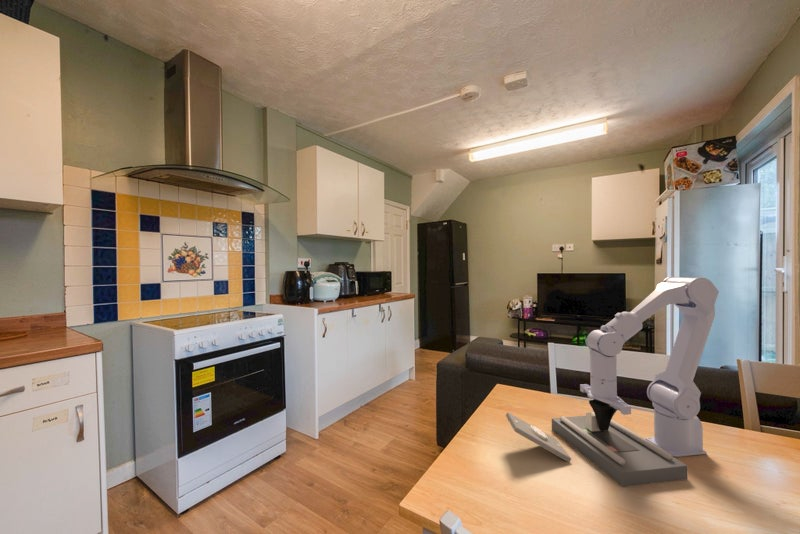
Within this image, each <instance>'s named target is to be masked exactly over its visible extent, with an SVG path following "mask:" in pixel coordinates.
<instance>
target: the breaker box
mask: <svg viewBox="0 0 800 534" xmlns="http://www.w3.org/2000/svg"><path fill="white" fill-rule="evenodd" d="M564 417H565V418H566V419H568V420H569V421H571V422H572V423H573V424H575V425H576V426H578V427H579V428H581V429H582V430H583V431H585V432H586V433H588V434H589V435H590V436H592V437H593V438H595V439H596V440H597V441H599V442H600V443H602V444H603V445H604V446H606V447H607V448H609V449H610V450H611V451H613V452H614V453H616V454H617V455H619V456H620V457H621V458H623V459H624V460H625V461H626V464H625V465H624V466H622V465H620V464H619V463H617V462H616V461H615V460H613V459H612V458H611V457H609V456H608V455H607V454H605V453H604V452H603V451H601V450H600V449H599V448H597V447H596V446H594V445H593V444H592V443H590V442H589V441H588V440H586V439H585V438H584V437H582V436H581V435H580V434H578V433H577V432H576V431H574V430H573V429H572V428H570V427H569V426H567V425H566V424H565V423H563V422H562V421H561V420H560V417H553V418H551V430H553V431H554V433H557V434H558V435H559V436H560V437H561V438H562V439H563V440H565V441H566V442H567V443H569V445H571V447H573V448H575V449H576V450H577V451H578V452H580V453H581V454H582V455H583V456H585V458H587V459H588V460H589V461H591V462H592V463H593V464H594V465H596V467H597V468H599V469H600V470H601V471H602V472H604V473H605V474H606V475H608V476H609V477H610V478H611V479H613V480H614V481H615V483H617V484H618V485H620V487H622V488H624V487H631V486H632V487H633V486H641V485H650V484H658V483H659V484H660V483H667V482H676V481H677V482H678V481H683V480H684V481H685V480H688V478H689V476H688V465H687V464H685V463H684V462H682V461H681V460H678V459H677V457H674V456H673V459H672V460H671V461H669V460H667V459H666V458H664V457H662V456H661V455H659V454H658V453H656V452H654V451H653V450H651V449H649V448H648V447H646V446H644V445H643V444H641V443H640V442H638V441H636V440H635V439H633V438H631V437H630V436H628V435H627V434H625V433H623V432H622V431H620V430H618V429H617V428H615V427H613V426H612V425H609V430H605V431H593V432H591V431H590V430H589V429H587V428H586V415H581V416H580V415H578V416H577V415H576V416H567V417H566V416H564Z"/></svg>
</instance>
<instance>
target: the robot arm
mask: <svg viewBox="0 0 800 534" xmlns="http://www.w3.org/2000/svg"><path fill="white" fill-rule="evenodd" d="M718 295H719V290H718V288H717V286H715V284H714V283H713V282H712V281H711V280H710V279H708V278H706V277H700V276H699V277H682V276H681V277H680V276H668V277H665V278H664V279H663V280H662V282H660V283H658V284H656V286H655V289H654V290H653V291H652V292H651V293H650V294H648V295H647V296H646V297H645V298H644V299H643V300H642V301H641V302H640V303H638V305H636V306H635V307H634V308H633V309H632V310H631V311H622V312H617V313H616V314H614V318H613V319H611V320H610V321H609V322H607V323H606V324H605V325H604V324H602V325H601V326H600V329H594V330H592V331H590V333H589V334H588V335H587V338H586V339H584V341H585V345H586V346H587V348H588V350H589V358H590V360H589V361H590V362H589V363H590V364H589V365H590V367H589V368H590V369H589V370H590V373H589V374H590V385H589V384H587V383H584V384H582V383H581V384H579V391H580V392H581V393H586V394H587V397H588V398H590V400H588V404H589V405H590V407H591V408H592V411H593V412H594V413H595V416H596V419H597V423H598V427H599V430H601V431H604V430H608V429H609V425H610V422H611V419H612V420H613V417H614V415H615V414H616V412H620V414H622V415H623V416H625V415H631V414H632V406H631V405H629V403H626V402H625V401H624V400H623V399H622V398H621V397H620V396H618V392H617V391H618V388H617V387H618V386H617V385H618V383H617V381H618V380H617V376H618V375H617V371H618V370H617V355H619V354H621V352H622V350H623V345H625V344H626V343H625V342H627V341H629V340H630V339H631V338H632V337H634V336H635V335H636V334H637V333H638V332H640V331H641V330H642V329H643V322H645V321H646V320H647V319H649V318H650V317H652V316H654V315H656V313H658V312H660V311H661V310H662V309H664V308H665V307H667V306H668V305H674V306H675V307H677V308H678V309H679V310H680V312H681V313H682V315H683V317H682V320H681V323H680V327H679V329H678V332H677V334H676V335H677V336H676V337H675V342H674V344H673V347H672V349H671V352H670V356H669V359H668V363H667V365H666V368H665V370H664V371H661V372H659V373H657V374H655V377H654V379H653V380H652V382H650V383H649V384H648V386H647V389H646V395H647V398H648V399H649V400H650V402H652V407H653V408H654V412H653V414H654V415H653V421H654V422H653V424H654V426H653V427H654V428H653V429H654V430H653V431H654V432H653V433H654V434H653V436H652V437H651V436H650V437H649V436H648V437H645V438H644V439H646V440H647V441H649V442H651V443H652V444H654V445H656V446H658V447H659V448H661V449H663V450H664V451H666V452H668V453H669V454H671V455H672V456H673V457H674V458H677V457H678V458H679V457H688V456H697V455H698V456H699V455H706V454H708V453H707V451H706V450H704V446H703V444H704V442H703V441H704V438H703V437H704V430H703V429H704V428H703V424H702V421H701V419H700V418H699V417H698V416H697V415H698V414H699V413H700V410H701V402H700V398H701V394H702V392H701V391H700V389H699V387H698V386H697V384H696V383H695V381H694V378H695V376H696V372H697V369H698V367H699V364H700V361H701V358H702V355H703V352H704V350H705V346H706V343H707V341H708V337H709V335H710V331H711V328H712V325H713V323H714V320H715V317H716V316H715V315H716V308H715V306H716V305H715V304H716V302H717V298H718V297H719V296H718Z"/></svg>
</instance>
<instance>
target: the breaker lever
mask: <svg viewBox="0 0 800 534" xmlns="http://www.w3.org/2000/svg"><path fill="white" fill-rule="evenodd" d="M585 416H586V428H587V429H589V430H590V431H591V432H593V431H601V430H599V427H598V423H597V419H596V416H595V413H594V411H593V412H586V413H585ZM608 430H609V429H608ZM604 431H605V430H604Z"/></svg>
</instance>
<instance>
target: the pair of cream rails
mask: <svg viewBox="0 0 800 534" xmlns="http://www.w3.org/2000/svg"><path fill="white" fill-rule="evenodd" d="M565 417H566V416H563V415H561V416H560V417H559V418H560V420H561V421H562V422H563V423H565V424H566V425H567V426H569V427H570V428H572V429H573V430H574V431H576V432H577V433H578V434H580V435H581V436H582V437H584V438H585V439H586V440H588V441H589V442H590V443H592V444H593V445H594V446H596V447H597V448H599V449H600V450H601V451H603V452H604V453H605V454H607V455H608V456H609V457H611V458H612V459H613V460H615V461H616V462H617V463H619V464H620V465H622V466H624V465H625V464H626V461H625V460H624V459H623V458H621V457H620V456H619V455H617V454H616V453H614V452H613V451H611V450H610V449H609V448H607V447H606V446H604V445H603V444H602V443H600V442H599V441H597V440H596V439H595V438H593V437H592V436H590V435H589V434H588V433H586V432H585V431H583V430H582V429H581V428H579V427H578V426H576V425H575V424H573V423H572V422H571V421H569V420H568V419H566V418H565ZM610 425H612V426H613V427H615V428H617V429H618V430H620V431H622V432H623V433H625V434H627V435H628V436H630V437H631V438H633V439H635V440H636V441H638V442H640V443H641V444H643V445H644V446H646V447H648V448H649V449H651V450H653V451H654V452H656V453H658V454H659V455H661V456H662V457H664V458H666V459H667V460H669V461H671V460H672V459H673V457H674V456H672V455H671V454H669V453H668V452H666V451H664V450H663V449H661V448H659V447H658V446H656V445H654V444H652V443H651V442H649V441H647V440H646V439H645V438H644V437H643V436H640V435H639V434H637V433H635V432H634V431H632V430H630V429H629V428H627V427H626V426H623V425H622V424H620V423H618V422H617V421H616V420H613V418H612V419H611V422H610Z"/></svg>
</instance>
